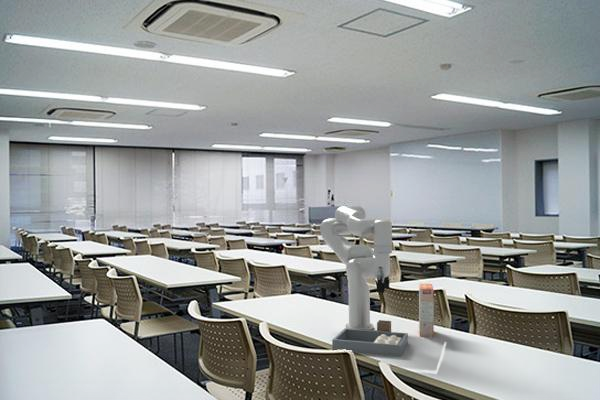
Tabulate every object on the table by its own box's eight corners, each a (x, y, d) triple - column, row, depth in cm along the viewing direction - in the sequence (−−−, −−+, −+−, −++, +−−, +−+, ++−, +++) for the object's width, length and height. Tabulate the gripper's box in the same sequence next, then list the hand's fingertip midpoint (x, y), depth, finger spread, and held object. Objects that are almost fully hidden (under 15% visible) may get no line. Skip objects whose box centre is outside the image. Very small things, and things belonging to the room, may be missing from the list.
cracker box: (434, 339, 218) (434, 288, 218) (419, 338, 219) (419, 288, 219) (432, 330, 231) (432, 283, 231) (419, 329, 233) (418, 282, 233)
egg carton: (378, 343, 209) (378, 332, 209) (401, 345, 206) (401, 333, 205) (373, 351, 198) (372, 339, 198) (396, 353, 195) (396, 341, 195)
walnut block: (379, 336, 223) (379, 320, 223) (391, 337, 221) (391, 321, 221) (377, 339, 218) (377, 322, 218) (389, 340, 216) (389, 323, 216)
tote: (344, 340, 217) (344, 328, 217) (408, 345, 208) (407, 333, 208) (332, 352, 200) (332, 339, 200) (400, 359, 191) (400, 345, 191)
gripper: (378, 247, 228) (378, 286, 229) (369, 251, 212) (369, 293, 212) (395, 247, 226) (395, 287, 226) (387, 252, 209) (387, 294, 210)
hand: (383, 290), depth 219 cm, fingers open, 9 cm apart
